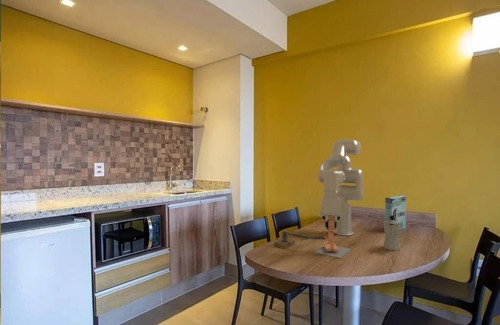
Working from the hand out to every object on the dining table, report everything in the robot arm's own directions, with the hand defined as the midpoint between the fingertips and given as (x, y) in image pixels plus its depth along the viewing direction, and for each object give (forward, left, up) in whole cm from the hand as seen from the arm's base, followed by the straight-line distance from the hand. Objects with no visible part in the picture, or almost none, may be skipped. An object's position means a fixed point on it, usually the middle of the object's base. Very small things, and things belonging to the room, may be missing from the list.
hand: (330, 228), depth 153 cm
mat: (0, +1, -12) cm, 12 cm away
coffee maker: (-26, +24, -12) cm, 38 cm away
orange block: (0, 0, -11) cm, 11 cm away
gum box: (-71, +17, -12) cm, 74 cm away
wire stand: (+6, -15, -12) cm, 20 cm away
